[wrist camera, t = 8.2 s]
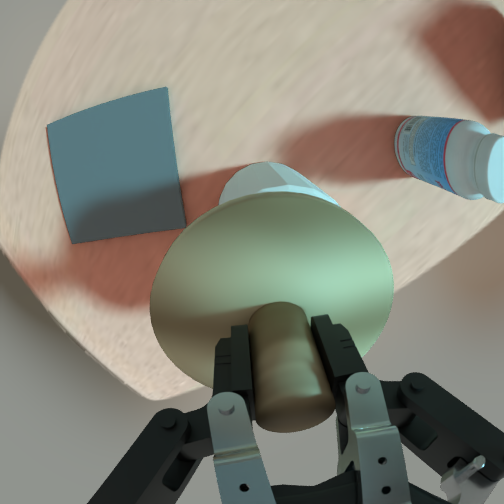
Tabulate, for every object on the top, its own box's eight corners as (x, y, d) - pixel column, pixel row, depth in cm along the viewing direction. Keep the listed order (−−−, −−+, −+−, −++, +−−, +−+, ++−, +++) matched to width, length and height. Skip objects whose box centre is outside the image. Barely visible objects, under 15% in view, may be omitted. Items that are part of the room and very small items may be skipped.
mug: (189, 267, 26) (169, 339, 17) (244, 145, 21) (251, 158, 12) (266, 296, 27) (280, 372, 19) (328, 188, 23) (382, 228, 14)
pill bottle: (398, 183, 23) (480, 225, 13) (385, 120, 20) (475, 129, 10) (442, 169, 23) (523, 203, 12) (432, 112, 20) (520, 122, 10)
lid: (128, 209, 11) (52, 285, 6) (395, 184, 11) (491, 237, 6) (186, 388, 16) (177, 471, 11) (365, 365, 17) (397, 439, 11)
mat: (50, 124, 18) (47, 124, 18) (167, 87, 19) (165, 86, 18) (75, 241, 24) (72, 244, 23) (186, 225, 24) (185, 227, 23)
